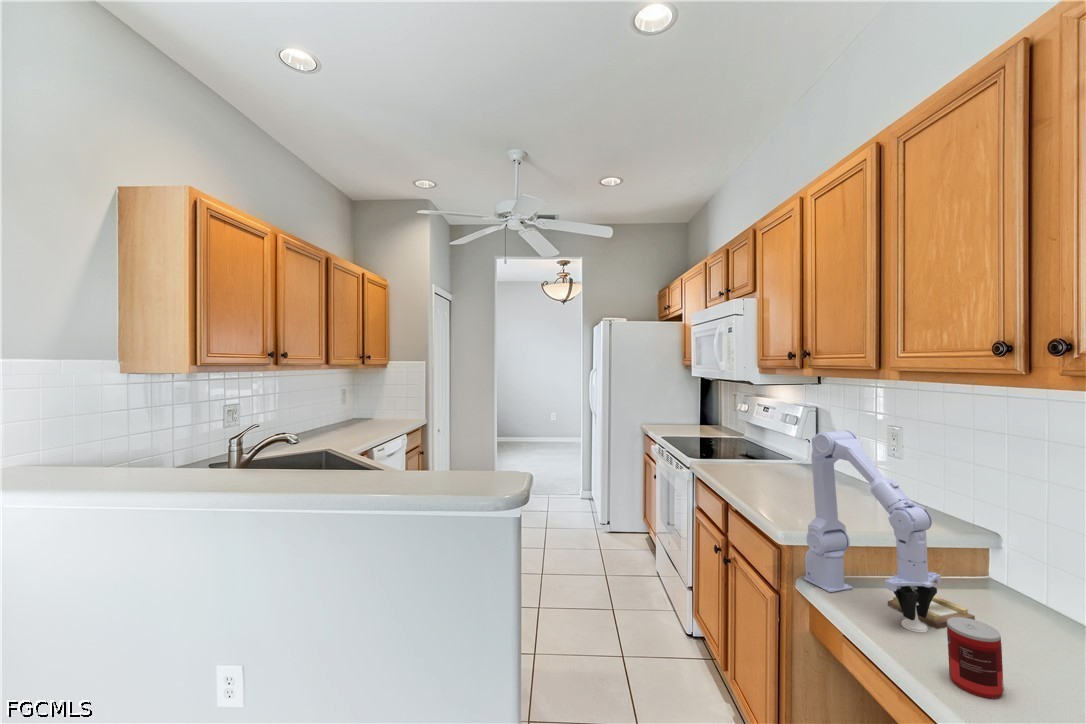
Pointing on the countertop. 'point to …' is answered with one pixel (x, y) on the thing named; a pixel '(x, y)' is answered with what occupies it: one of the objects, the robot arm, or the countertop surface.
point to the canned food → (975, 657)
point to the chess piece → (914, 621)
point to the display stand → (938, 612)
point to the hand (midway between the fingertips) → (914, 617)
